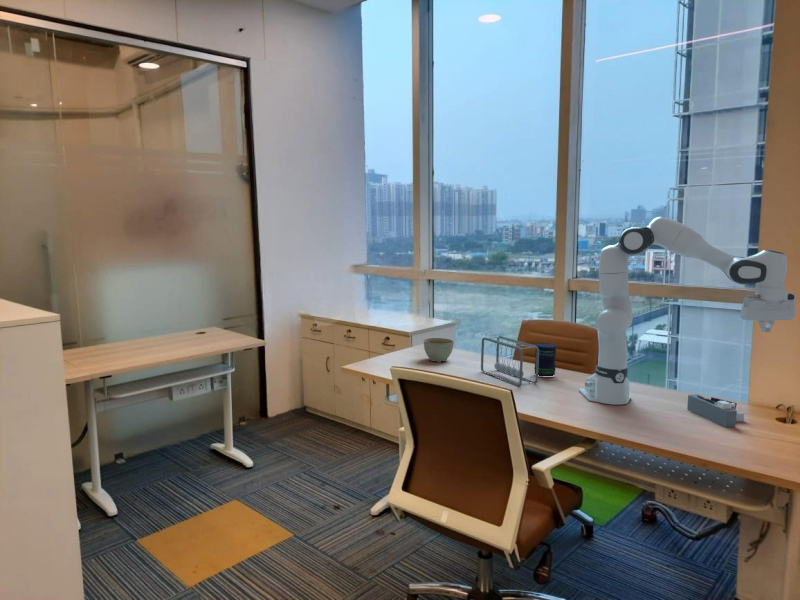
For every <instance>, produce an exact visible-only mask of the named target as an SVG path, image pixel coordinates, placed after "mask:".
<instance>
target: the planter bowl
mask: <svg viewBox="0 0 800 600" xmlns="http://www.w3.org/2000/svg"><path fill="white" fill-rule="evenodd" d="M454 344H455V341H454V340H453V339H451V338H450V339H449V338H444V337H443V338H441V337H430V338H424V339H423V348H424V353H425V354H426V356H427V357H428V360H429V361H430V360H431V361H430V362H432V361H437V362H436V363H442V362H441V361H446V360H447V361H448V358H449V357H450V355H451V354H452V352H453V349H454ZM447 361H446V362H447Z"/></svg>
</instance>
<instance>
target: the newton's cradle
mask: <svg viewBox="0 0 800 600" xmlns="http://www.w3.org/2000/svg"><path fill="white" fill-rule="evenodd" d="M500 340H502V341H500ZM485 341H488V342H491V343H493V344H495V345H496V349H495V351H496V355H495V356H496V357H495V359H496V360H495V363H494V366H493V367H494V370H500V371H502V372H501V373H503V372H506V373H508V374H511V375H513V376H512V377H514V376H516V377H518V378H517V379H519V382H518V383H517V382H514V381H513V380H509V379H506V378H504V377H501V376H499V375H497V374H494V373H491V372H486V371H487V370H486V371H485V370H484V352H485ZM505 341H506V342H505ZM508 342H509V343H508ZM515 344H516V345H515ZM502 346H505V347H504V348H510V349H511V350H513V349H514V350H515V351H516V353H520V356H519V357H520V359H519V358H518V354H516V355H515V356H516V357H515V358H516V360H515V361H514V362H515V363H516V362H517V360H520V361H519V363H517V364H518V369H517V368H516V367H515V366H516V365H513V366H511V365H510V362H509V361H508V360H507V361H506V363H507V364H505V360H506V359H504V360H503V359H501V358H500V356H502V355H503V354H502V353H503V352H502V349H503V347H502ZM520 346H521V347H520ZM480 349H481V352H480V355H481V356H480V371H481V372H482V371H483V372H486V373H489V374H491V375H494V376H497V377H499V378H501V379H503V380H505V381H507V382H506V383H508V382H510V383H512V384H511V385H513V384H514V385H513V386H516V387H521V386H523V385H524V384H525V385H528V384H529V385H530V382H532V383H531V384H533V383H535V384H534V385H536V384H538V382H539V377H538V368H539V348H538V347H537V346H536V344H535V345H534V344H530V343H527V342H523V341H520V340H515V339H513V338H509V337H504V336H503V335H502V336H501V335H499V336H495V337H493V336H492V337H482V339H481V348H480ZM525 349H536V350H537V356H535V361H536V376H535V380H534V381H533V380H531V379H528V378H526V377H524V375H525V374H524V370H523V366H524V365H523V363H524V351H525ZM507 350H508V349H505V355H504V358H507V356H508V353H507ZM518 351H519V352H518ZM510 352H511V353H510V358H509V360H511V361H512V364H514V362H513V359H512V356H513V351H510ZM500 360H502V363H501V362H500ZM508 363H509V364H508ZM500 371H499V372H500ZM483 372H482V373H483ZM506 373H505V374H506ZM508 374H507V375H508ZM511 375H510V376H511ZM516 377H515V378H516ZM522 379H524V380H522ZM503 380H502V381H503ZM525 380H527V381H529V382H527V381H526V382H525V383H523V381H525ZM505 381H504V382H505ZM510 383H509V384H510Z"/></svg>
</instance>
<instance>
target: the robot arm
mask: <svg viewBox="0 0 800 600" xmlns="http://www.w3.org/2000/svg"><path fill="white" fill-rule="evenodd" d="M651 245H653V246H654V245H656V246H659V247H662V248H663V249H665V250H667V251H669V252H671V253H674V254H676V255H678V256H680V257H681V256H682V257H685V258H692V259H696V260H697V259H698V260H701V261H704V262H705V263H708V264H709V265H711V266H713V267H715V268H718V269H719V270H720V271H722V272H723V273H724V275H726V277H727V278H728V279H729V280H730V281H732V282H733V283H736V284H738V285H743V286H744V285H750V284H755V290H754V291H755V293H754V294H748V295H746V296H745V297H744V298H743V302H742V306H741V309H740V314H739V315H740V318H741V319H742V320H744V321H758V325H759V327H760V333H771V332H772V328H773V326H775V324H776V321H792V320H793V319H794V318H795V317H796V308H797V307H796V302H795V301H796V300H797V295H796V294H795V293H792V292H789V291H787V290H786V284H785V281H786V278H787V273H788V257H787V255H786V254H784V253H783V252H781V251H776V250H771V249H763V250H761V251H760V252H758V253H757V252H756V253H755V254H752V255H749V256H746V257H745V256H735V255H731V254H728V253H726V252H724V251H723V250H720V249H718V248H717V247H715V246H712V245H711V244H709V242H707V241H706V239H704V237H703V236H702V235H701V234H700V233H699V232H698V231H696V230H695V229H693V228H691V227H690V226H688V225H686V224H683V223H681V222H680V221H677V220H674V219H671V218H669V217H664V216H657V217H655V218H653V219H652V220H651V221H650V222H649V224H648V225H647V226H630V227H628V228H626V229H625V230H623V231H622V232H621V234H620V235H619V237H618V242H617V243H616V244H611V245H607V246H605V247H603V248H602V249H601V251H600V255H599V261H598V282H599V283H598V284H599V285H598V286H599V288H598V289H599V294H600V297H601V302H602V307H603V310H602V311H601V312H600V313H599V314H598V315H597V318H596V321H595V325H596V330H597V340H598V360H597V361H598V362H597V364H595V365H594V368H595V370H594V373H593V374H591V375H590V376H589V377H587V378H586V379H585V382H584V387H581V388H579V390H578V391H579V393H581V394H582V395H583V396H584V398H586V399H587V400H588V401H590V402H595V403H596V402H597V403H601V404H606V405H615V406H616V405H626V404H628V403H629V402H630V401H631V400H632V396H631V395H630V380H629V379H628V378H627V377H628V373H629V371H628V370H629V368H628V352H629V349H628V341H627V331H628V329H629V328H630V327H632V324H633V320H634V318H633V317H634V314H633V311H632V302H631V297H630V291H629V290H630V289H629V267H628V265H629V259H630V257H631V256H636V255H641V254H642V253H644V252H645V251H646V250H647V249H648V248H649V247H651ZM630 399H631V400H630Z"/></svg>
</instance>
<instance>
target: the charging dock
mask: <svg viewBox="0 0 800 600" xmlns="http://www.w3.org/2000/svg"><path fill="white" fill-rule="evenodd" d="M726 401H727V400H725V401H717V402H714V401H712V400H711V398H706V397H704V396H702V395H699V394H688V395H687V408H686V409H688V410H687V411H689V410H690V412H691V411H692V412H691V413H693V412H694V414H695V413H696V414H695V415H698V414H699V415H698V416H700V415H701V416H700V417H702V416H703V417H702V418H704V417H705V418H704V419H706V418H707V420H708V419H709V421H710V420H711V422H712V423H715V424H717V425H719V426H722V427H723V428H736V423H738V422H744V421H745V412H738V411H737V410H736V409H735V410H734V409H731V403H729V402H730V401H729V402H726Z"/></svg>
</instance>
